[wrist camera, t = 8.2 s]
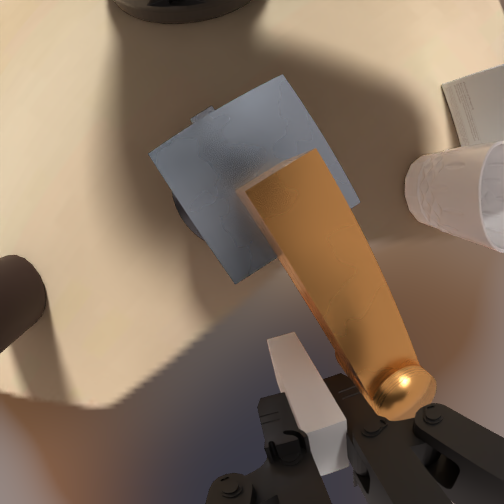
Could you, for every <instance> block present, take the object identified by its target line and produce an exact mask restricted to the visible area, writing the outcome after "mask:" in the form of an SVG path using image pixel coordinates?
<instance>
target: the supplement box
mask: <svg viewBox="0 0 504 504" xmlns="http://www.w3.org/2000/svg"><path fill="white" fill-rule="evenodd" d="M442 89H443V91H444V94H445V97H446V100H447V103H448V106H449V109H450V112H451V115H452V118H453V121H454V124H455V128H456V131H457V134H458V138H459V141H460V145H461V147H462V146H468V145H475V144H482V143H489V142H495V141H504V64H502V65H499V66H496V67H493V68H489V69H486V70H483V71H480V72H477V73H473V74H470V75H468V76H465V77H462V78H459V79H456V80H453V81H450V82H447V83H444V84H442Z"/></svg>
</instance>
